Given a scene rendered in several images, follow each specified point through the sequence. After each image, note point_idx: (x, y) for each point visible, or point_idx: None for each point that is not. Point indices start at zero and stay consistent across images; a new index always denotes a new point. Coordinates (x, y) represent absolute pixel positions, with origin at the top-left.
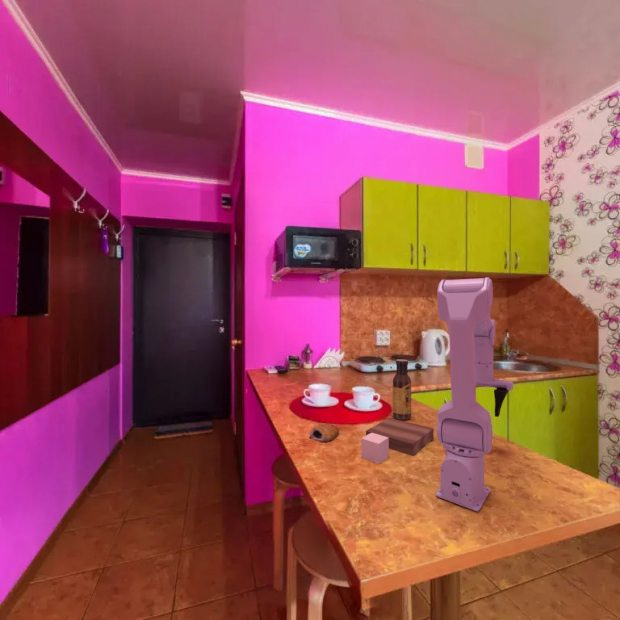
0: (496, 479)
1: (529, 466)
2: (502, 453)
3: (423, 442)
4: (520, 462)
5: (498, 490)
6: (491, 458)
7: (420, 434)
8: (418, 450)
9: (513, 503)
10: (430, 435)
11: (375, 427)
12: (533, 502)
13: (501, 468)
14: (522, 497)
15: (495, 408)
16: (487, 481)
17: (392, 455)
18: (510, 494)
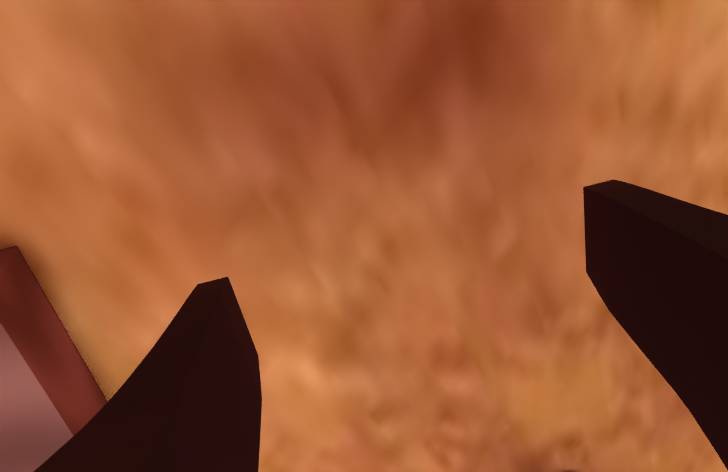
0: (567, 381)
1: (675, 112)
2: (493, 56)
3: None
4: (622, 100)
5: (597, 442)
6: (468, 198)
7: (51, 453)
8: None
9: (659, 468)
10: (31, 324)
11: None
12: None
13: (554, 269)
14: (681, 416)
15: (653, 351)
16: (542, 422)
17: None
18: (640, 431)
